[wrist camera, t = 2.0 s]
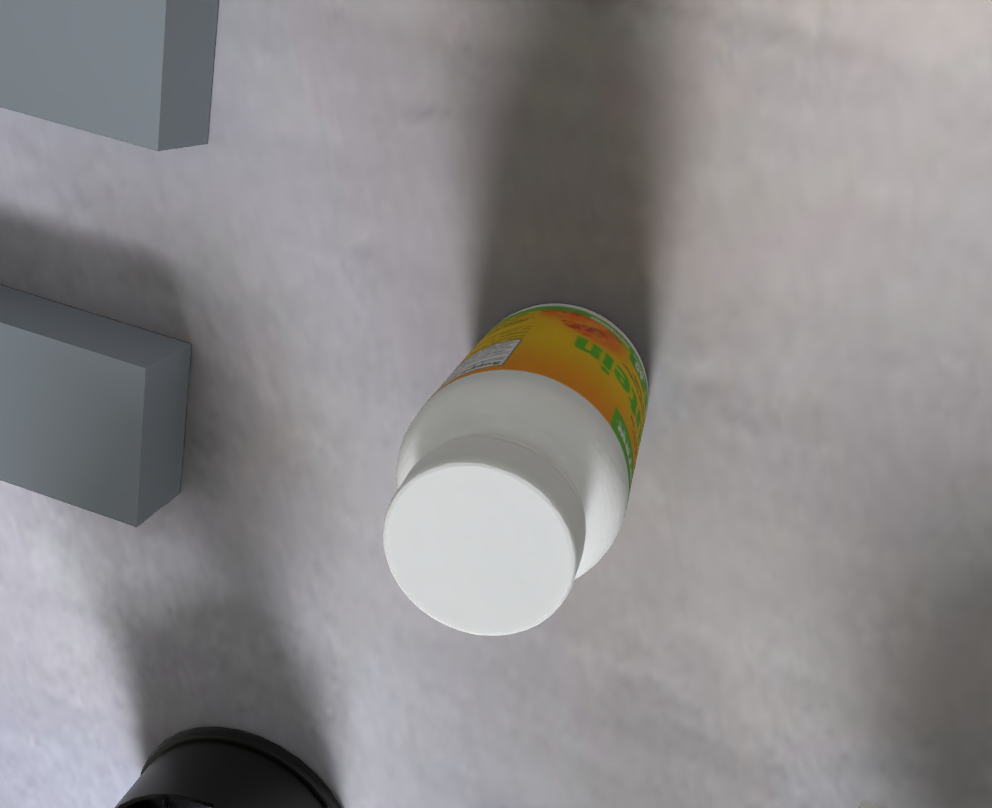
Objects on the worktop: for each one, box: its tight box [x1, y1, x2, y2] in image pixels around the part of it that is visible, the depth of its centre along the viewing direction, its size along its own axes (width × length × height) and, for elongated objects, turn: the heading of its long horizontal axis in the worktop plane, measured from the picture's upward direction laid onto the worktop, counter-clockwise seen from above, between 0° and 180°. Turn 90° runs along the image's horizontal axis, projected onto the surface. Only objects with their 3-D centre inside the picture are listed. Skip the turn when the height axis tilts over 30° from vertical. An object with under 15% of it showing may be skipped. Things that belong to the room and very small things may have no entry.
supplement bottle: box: [383, 303, 648, 636], centre depth 21 cm, size 5×5×10 cm
